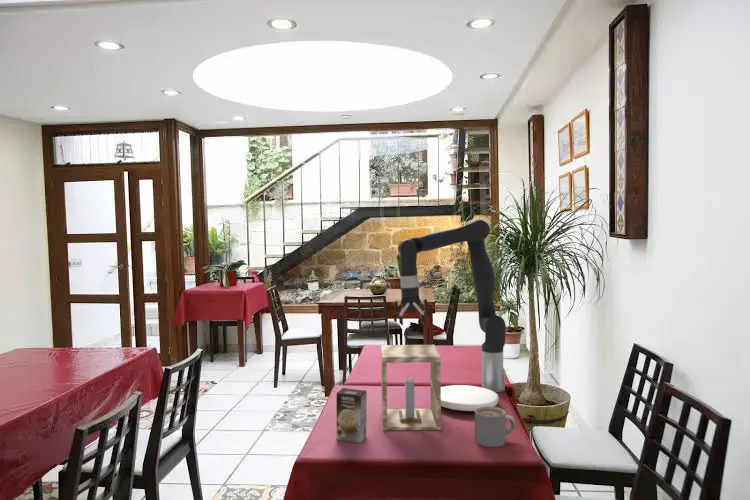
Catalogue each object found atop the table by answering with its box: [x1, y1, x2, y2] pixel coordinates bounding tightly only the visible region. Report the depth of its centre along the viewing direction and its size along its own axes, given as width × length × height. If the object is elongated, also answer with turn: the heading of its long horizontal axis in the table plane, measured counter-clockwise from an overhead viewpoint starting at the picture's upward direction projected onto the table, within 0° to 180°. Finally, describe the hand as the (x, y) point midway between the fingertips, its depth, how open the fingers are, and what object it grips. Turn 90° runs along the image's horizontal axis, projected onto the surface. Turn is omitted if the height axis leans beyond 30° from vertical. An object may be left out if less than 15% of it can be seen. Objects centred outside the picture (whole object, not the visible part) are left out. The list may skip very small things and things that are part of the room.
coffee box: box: [335, 387, 368, 444], centre depth 179 cm, size 9×6×16 cm
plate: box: [441, 384, 499, 412], centre depth 213 cm, size 28×6×27 cm
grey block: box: [404, 377, 415, 418], centre depth 195 cm, size 3×6×14 cm, turn 179°
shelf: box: [380, 344, 442, 431], centre depth 195 cm, size 20×19×26 cm
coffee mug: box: [474, 406, 516, 448], centre depth 176 cm, size 13×10×10 cm
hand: (412, 324), depth 224 cm, fingers open, 8 cm apart
